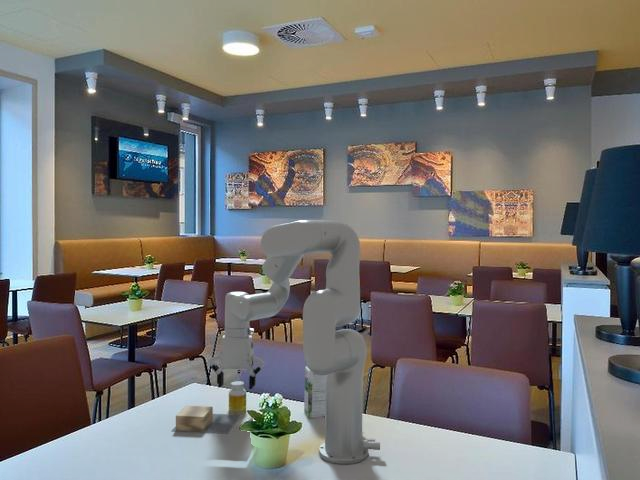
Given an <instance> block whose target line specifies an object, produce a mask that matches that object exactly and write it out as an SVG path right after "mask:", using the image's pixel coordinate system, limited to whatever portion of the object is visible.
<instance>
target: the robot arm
mask: <svg viewBox="0 0 640 480" xmlns="http://www.w3.org/2000/svg"><path fill="white" fill-rule="evenodd" d="M260 248H261V251H262V253H263V254H264V256H266V259H265V260H264V262H263V263H262V267H261V269H262V272H263V274H264V276H265V277H267V279H268V280H269V281H271V282H272V284H271V286H270V287H269V289H268V290H267V292H260V293H254V294H249V293H248V292H245V291H231V292H228V293H226V294H225V298H224V299H225V300H224V335H222V337H221V344H220V350H219V354H217V355H215V356H212V357H211V358H209V359H208V363H209V365H210V366H211V369H212V370H213V371H214V372H215V374H216V384H217V387H218V388H222V387H223V386H224V383H225V382H224V380H225V379H224V378H225V377H224V370H231V371H232V370H235V371H247V372H248V373H249V374H250V375H249V377H248V389H249V390H253V388H254V387H255V386H256V375H257V374H258V373H259V372H260V371H261V370H262V368H263V366H264V365H265V361H264V360H263V359H261V358H260V357H257V356H256V355H255V349H254V347H255V346H254V340H253V336H252V335H251V334H254V333H255V329H254V328H251V325H250V322H251V321H256V320H260V319H266V318H271V317H274V316H276V315H277V314H278V313H280V311H281V310H282V308H283V307H284V305H285V304H286V302H287V301H288V299H289V296H290V291H291V290H290V289H291V284H290V278H291V276H292V275H293V273H294V271H295V270H296V268H297V267H298V266H299V264H300V263H301V261H302V259H303V257H304V256H305V255H317V254H327V253H328V254H330V255H331V257H330V258H329V260H328V262H327V264H326V271H325V279H326V281H325V289H319V290H315V291H313V292H312V293H310V294H309V295H308V296H307V298H306V299H305V301H304V305H303V309H302V343H303V344H302V346H303V348H302V349H303V357H304V358H303V359H304V363H305V365H306V367H308V368H309V370H310V371H311V372H313V373H314V374H316V375H327V377H326V384H325V417H324V442H322V443H321V444H320V445H319V447H318V454H319V456H320V457H321V458H322V459H323V460H325V461H327V462H328V463H329V462H330V463H332V464H333V463H334V464H338V465H350V464H357V463H360V462H362V461H364V460H365V459H366V458H367V457H368V456H369V450H373V451H374V450H375V451H381V441H376V438H366V436H365V435H364V433H365V432H364V431H363V393H364V392H363V390H364V388H363V387H364V386H363V385H364V384H363V383H364V370H365V366H366V360H367V353H368V352H367V343H366V340H365V338H364V336H363V334H361V333H360V332H359V331H357V330H354V329H351V328H344V329H343V328H342V329H339V330H336V328H338V327H342V326H344V325H349V324H352V323H354V322H355V321H357V320H358V318H359V317H360V314H361V313H360V312H361V285H360V283H361V281H360V278H361V277H360V261H361V242H360V239H359V236H358V234H357V232H356V231H355V230H354V228H353V227H351V225H348V224H347V223H344V222H342V221H338V220H330V219H329V220H327V219H326V220H325V219H322V220H318V219H317V220H316V219H315V220H313V219H308V220H306V219H305V220H296V221H292V222H287V223H281V224H275V225H272V226H269V227H268V228H267V229H266V230H265V231H264V232H263V234H262V236H261V239H260ZM218 360H219V361H218ZM216 361H218V362H219V363H218V365H219V366H218V365H217V364H216ZM255 363H256V364H258V365H257V367H256V368H255V367H254V364H255Z"/></svg>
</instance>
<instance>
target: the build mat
mask: <svg viewBox="0 0 640 480" xmlns="http://www.w3.org/2000/svg"><path fill="white" fill-rule="evenodd" d="M240 417H241V414H231V413H229V414H227V413H225V414H224V413H213V421H212V422H211V423H210V424H209V425H208V427H207V428H206V429H205V430H204V431H187V430H176V426H174V428H173V429H172V430H171V432H172V433H175V432H177V433H179V432H180V433H197V434H219V435H220V434H221V435H228V434H229V432H230V431H231V430H232V428H233V427H234V426H235V424H236V423H237V421H238V419H239V418H240Z"/></svg>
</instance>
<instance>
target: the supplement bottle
mask: <svg viewBox="0 0 640 480" xmlns="http://www.w3.org/2000/svg"><path fill="white" fill-rule="evenodd" d="M246 411H247V390H246V389H245V382H244V381H240V380H238V381H237V380H236V381H232V382H230V389H229V391H228V412H229V413H230V414H231V413H232V414H241V413H245V412H246Z"/></svg>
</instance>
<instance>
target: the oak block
mask: <svg viewBox="0 0 640 480" xmlns="http://www.w3.org/2000/svg"><path fill="white" fill-rule="evenodd" d="M213 411H214V409H213V406H208V405H207V406H204V405H203V406H202V405H201V406H200V405H185V406H184V407H183V408H182V409H181V410H180V411H179V412H178V413H177V414H175V427H176V430H187V431H204V430H205V429H206V428H207V427H208V425H209V424H210V423H211V422H212V421H213V414H214V412H213Z"/></svg>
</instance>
